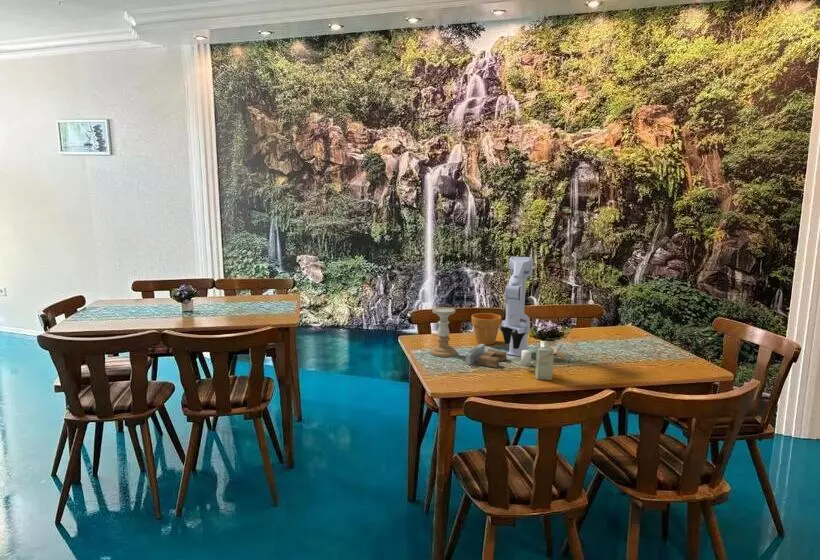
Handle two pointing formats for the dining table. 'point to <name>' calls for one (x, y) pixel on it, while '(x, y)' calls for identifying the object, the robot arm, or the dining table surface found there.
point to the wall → (475, 354)
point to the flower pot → (486, 327)
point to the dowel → (526, 358)
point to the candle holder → (443, 334)
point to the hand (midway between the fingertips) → (511, 346)
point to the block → (491, 358)
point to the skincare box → (544, 363)
